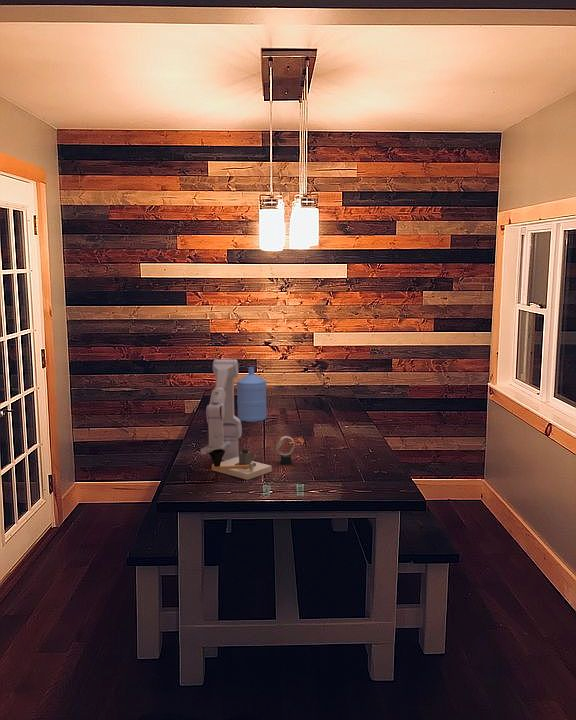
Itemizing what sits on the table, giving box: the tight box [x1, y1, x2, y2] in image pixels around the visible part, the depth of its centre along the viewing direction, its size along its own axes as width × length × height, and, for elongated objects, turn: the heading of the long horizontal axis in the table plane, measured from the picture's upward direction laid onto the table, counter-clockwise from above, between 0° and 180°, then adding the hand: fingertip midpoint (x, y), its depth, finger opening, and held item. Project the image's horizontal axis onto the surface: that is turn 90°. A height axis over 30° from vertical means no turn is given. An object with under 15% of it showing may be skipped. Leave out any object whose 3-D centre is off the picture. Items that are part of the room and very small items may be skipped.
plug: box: [235, 447, 256, 469], centre depth 277 cm, size 6×6×10 cm
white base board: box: [211, 457, 273, 481], centre depth 279 cm, size 20×14×2 cm
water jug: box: [236, 366, 268, 423], centre depth 368 cm, size 16×16×28 cm
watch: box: [275, 435, 296, 465], centre depth 289 cm, size 6×8×11 cm
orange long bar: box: [211, 463, 254, 471], centre depth 270 cm, size 16×2×2 cm, turn 99°
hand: (217, 468), depth 271 cm, fingers closed
